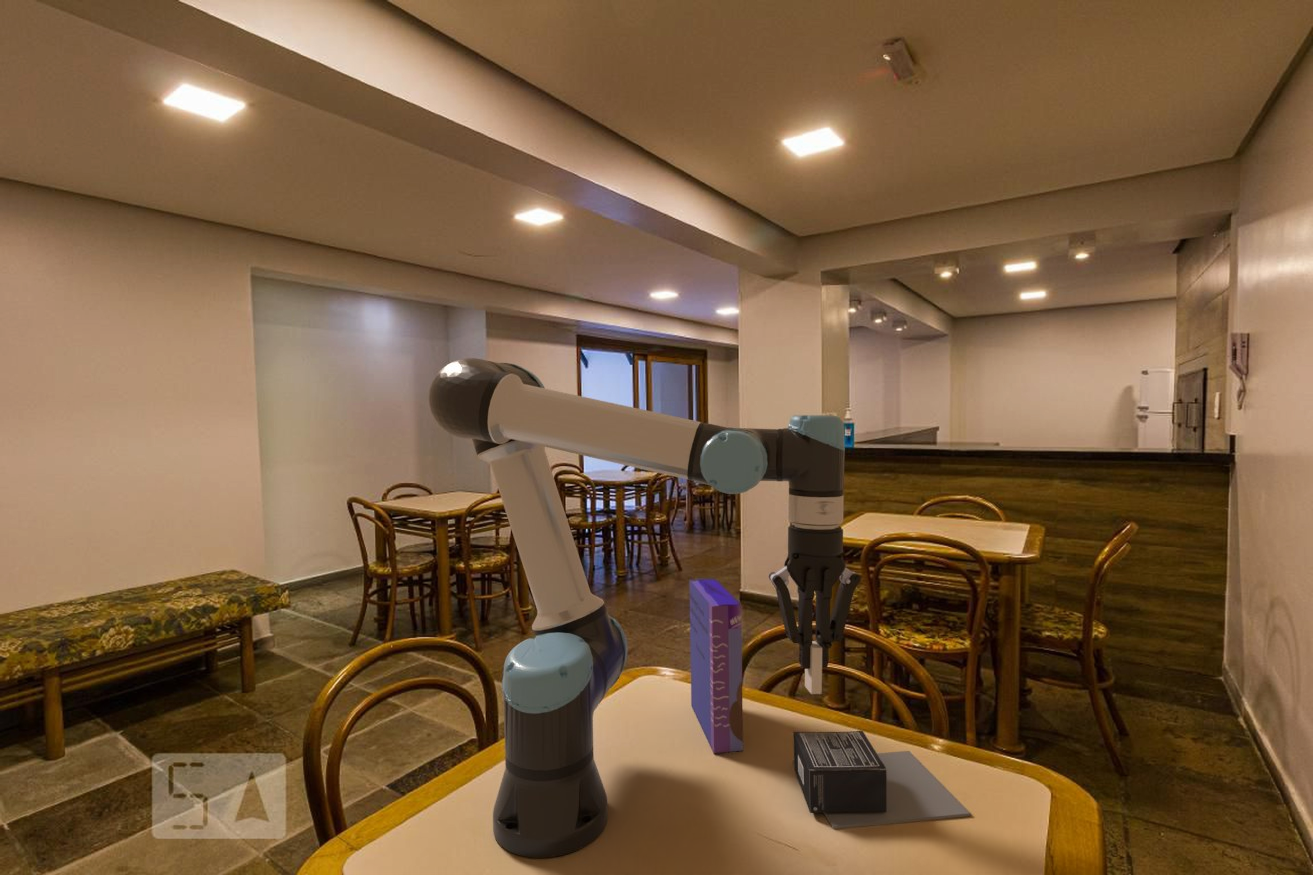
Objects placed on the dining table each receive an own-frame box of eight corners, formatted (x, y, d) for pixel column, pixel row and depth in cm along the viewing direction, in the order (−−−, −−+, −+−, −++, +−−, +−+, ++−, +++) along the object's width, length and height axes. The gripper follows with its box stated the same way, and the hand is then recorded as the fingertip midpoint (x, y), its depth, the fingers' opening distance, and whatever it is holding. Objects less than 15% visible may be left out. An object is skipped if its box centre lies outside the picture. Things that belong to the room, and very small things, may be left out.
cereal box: (743, 751, 102) (741, 603, 101) (714, 754, 101) (711, 605, 100) (716, 703, 119) (714, 576, 118) (691, 705, 118) (689, 578, 117)
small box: (809, 817, 84) (889, 815, 84) (808, 769, 84) (887, 767, 84) (794, 772, 95) (864, 771, 94) (792, 729, 94) (863, 728, 94)
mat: (833, 828, 82) (833, 825, 82) (792, 762, 98) (792, 760, 98) (970, 815, 84) (970, 812, 84) (909, 753, 100) (909, 750, 100)
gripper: (778, 529, 85) (776, 703, 85) (871, 528, 86) (868, 699, 87) (762, 520, 92) (760, 680, 93) (848, 519, 93) (846, 676, 94)
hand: (813, 689), depth 90 cm, fingers closed
